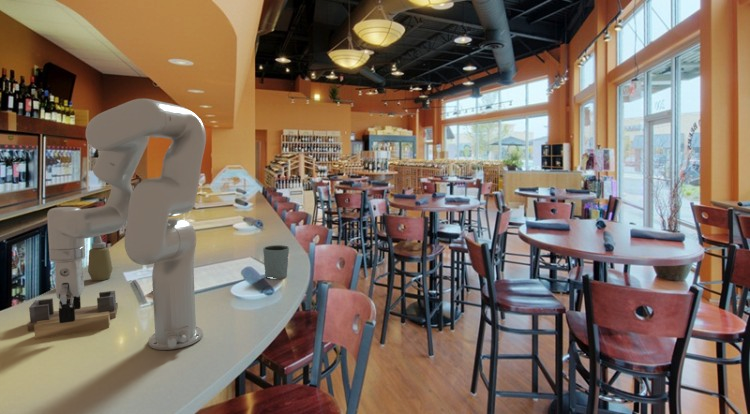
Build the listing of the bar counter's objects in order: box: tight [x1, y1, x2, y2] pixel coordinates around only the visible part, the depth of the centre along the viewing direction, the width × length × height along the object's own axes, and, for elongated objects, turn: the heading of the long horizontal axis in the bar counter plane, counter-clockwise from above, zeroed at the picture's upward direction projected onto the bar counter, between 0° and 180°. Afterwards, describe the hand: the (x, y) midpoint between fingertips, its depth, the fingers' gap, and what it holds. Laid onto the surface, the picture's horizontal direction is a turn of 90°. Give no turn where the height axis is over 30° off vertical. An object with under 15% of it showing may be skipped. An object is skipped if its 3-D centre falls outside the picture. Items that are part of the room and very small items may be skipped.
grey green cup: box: [262, 244, 290, 280], centre depth 162 cm, size 10×10×12 cm
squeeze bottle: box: [87, 235, 114, 282], centre depth 157 cm, size 8×8×18 cm
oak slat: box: [33, 311, 111, 340], centre depth 109 cm, size 3×16×4 cm, turn 118°
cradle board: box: [27, 290, 119, 332], centre depth 117 cm, size 10×20×6 cm, turn 119°
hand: (70, 315), depth 108 cm, fingers open, 9 cm apart
